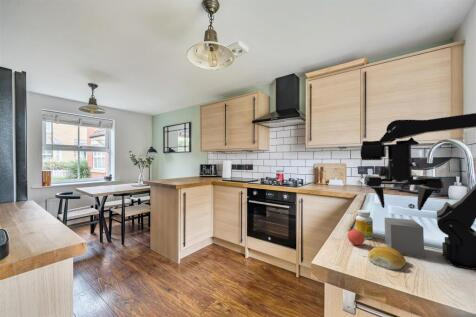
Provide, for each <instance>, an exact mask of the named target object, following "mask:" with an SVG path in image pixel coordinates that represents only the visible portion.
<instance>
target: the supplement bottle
mask: <svg viewBox="0 0 476 317" xmlns="http://www.w3.org/2000/svg"><path fill="white" fill-rule="evenodd" d="M373 223H374V222H373V218H372V217H371V211H369V210H366V209H358V210H357V215H356V216H355V229H356V230H359V231H361V232H362V233H363V235H364V237H365V240H372V239H373V238H374V228H373V227H374V226H373Z"/></svg>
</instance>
